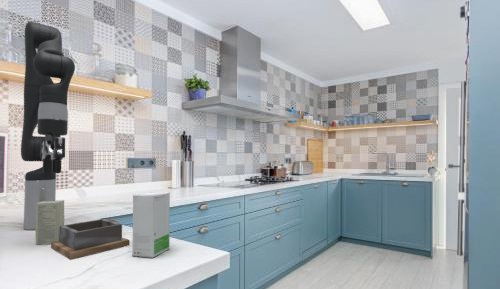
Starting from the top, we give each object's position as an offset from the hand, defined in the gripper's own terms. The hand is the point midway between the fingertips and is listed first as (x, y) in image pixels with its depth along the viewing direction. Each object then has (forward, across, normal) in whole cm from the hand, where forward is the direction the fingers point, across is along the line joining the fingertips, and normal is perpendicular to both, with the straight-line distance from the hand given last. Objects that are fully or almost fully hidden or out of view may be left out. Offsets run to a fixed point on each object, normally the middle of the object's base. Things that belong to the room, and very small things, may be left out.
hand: (51, 172), depth 87 cm
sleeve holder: (+21, +14, +6) cm, 26 cm away
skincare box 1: (+21, 0, 0) cm, 21 cm away
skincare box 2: (+21, +32, +14) cm, 41 cm away
